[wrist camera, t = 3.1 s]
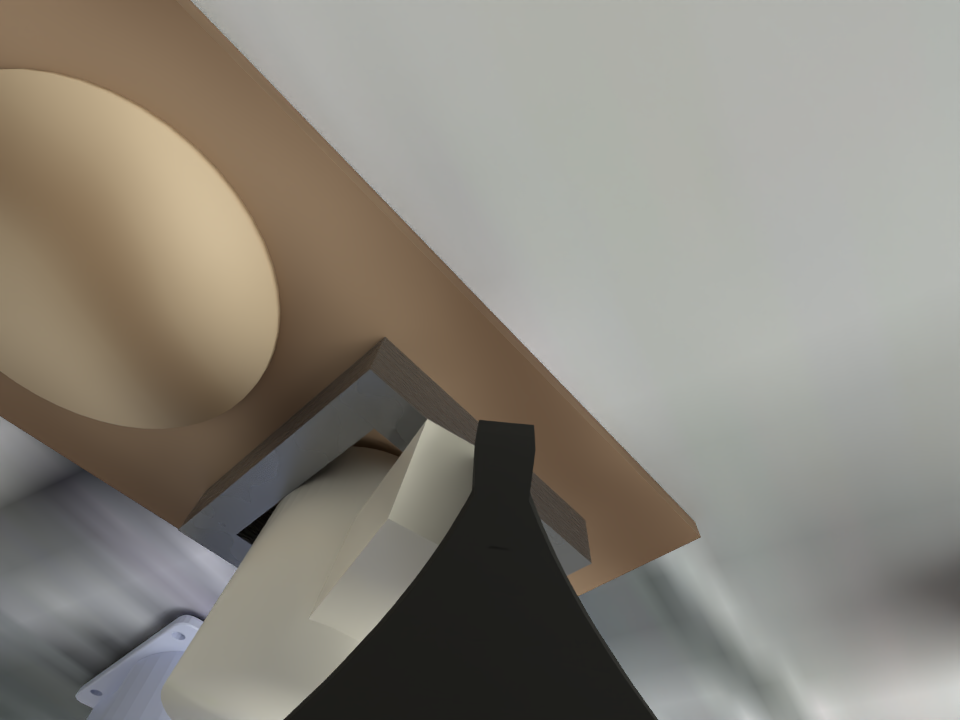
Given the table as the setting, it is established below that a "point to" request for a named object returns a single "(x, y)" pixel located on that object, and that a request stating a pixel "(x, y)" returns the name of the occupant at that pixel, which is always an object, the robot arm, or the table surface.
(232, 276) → the coaster
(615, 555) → the board
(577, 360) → the table surface
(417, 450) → the cream tapered cylinder
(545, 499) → the socket
